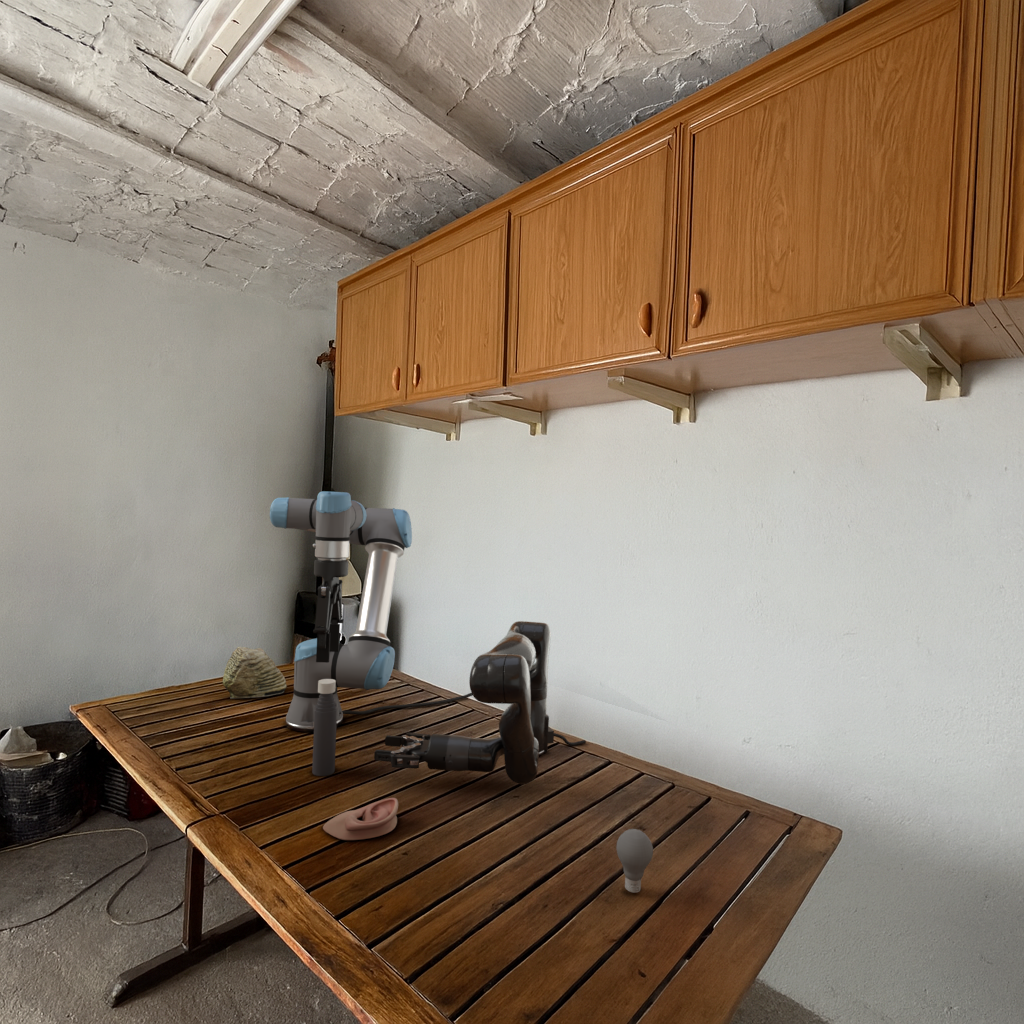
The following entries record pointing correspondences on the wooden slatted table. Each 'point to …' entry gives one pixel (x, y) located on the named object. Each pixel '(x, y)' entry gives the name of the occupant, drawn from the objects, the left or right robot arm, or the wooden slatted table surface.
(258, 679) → the fossil
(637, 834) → the light bulb
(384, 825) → the anatomical model
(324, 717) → the bottle
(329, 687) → the cap
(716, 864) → the wooden slatted table surface
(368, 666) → the left robot arm
